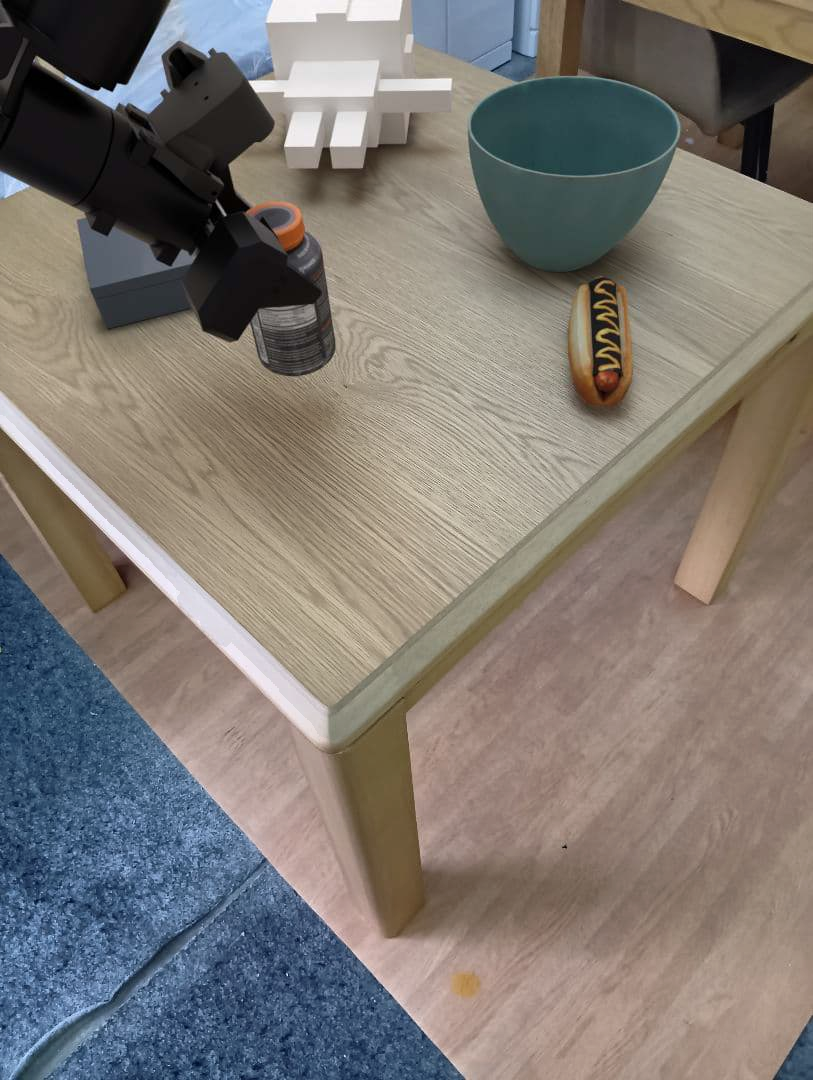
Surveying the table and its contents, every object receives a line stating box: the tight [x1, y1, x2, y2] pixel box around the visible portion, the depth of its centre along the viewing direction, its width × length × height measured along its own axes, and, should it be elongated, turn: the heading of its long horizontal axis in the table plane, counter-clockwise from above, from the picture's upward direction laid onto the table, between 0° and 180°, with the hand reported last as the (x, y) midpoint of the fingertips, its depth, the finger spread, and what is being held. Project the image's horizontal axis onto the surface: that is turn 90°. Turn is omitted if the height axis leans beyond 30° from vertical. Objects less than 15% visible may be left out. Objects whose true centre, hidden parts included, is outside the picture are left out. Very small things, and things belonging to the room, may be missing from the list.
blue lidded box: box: [76, 217, 195, 330], centre depth 76 cm, size 14×12×4 cm
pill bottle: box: [246, 201, 337, 378], centre depth 55 cm, size 6×6×11 cm
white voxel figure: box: [248, 0, 453, 169], centre depth 87 cm, size 15×25×28 cm
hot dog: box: [567, 275, 634, 408], centre depth 66 cm, size 5×13×5 cm, turn 174°
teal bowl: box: [467, 75, 682, 273], centre depth 73 cm, size 18×18×12 cm
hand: (302, 273), depth 55 cm, fingers closed on pill bottle, 6 cm apart
